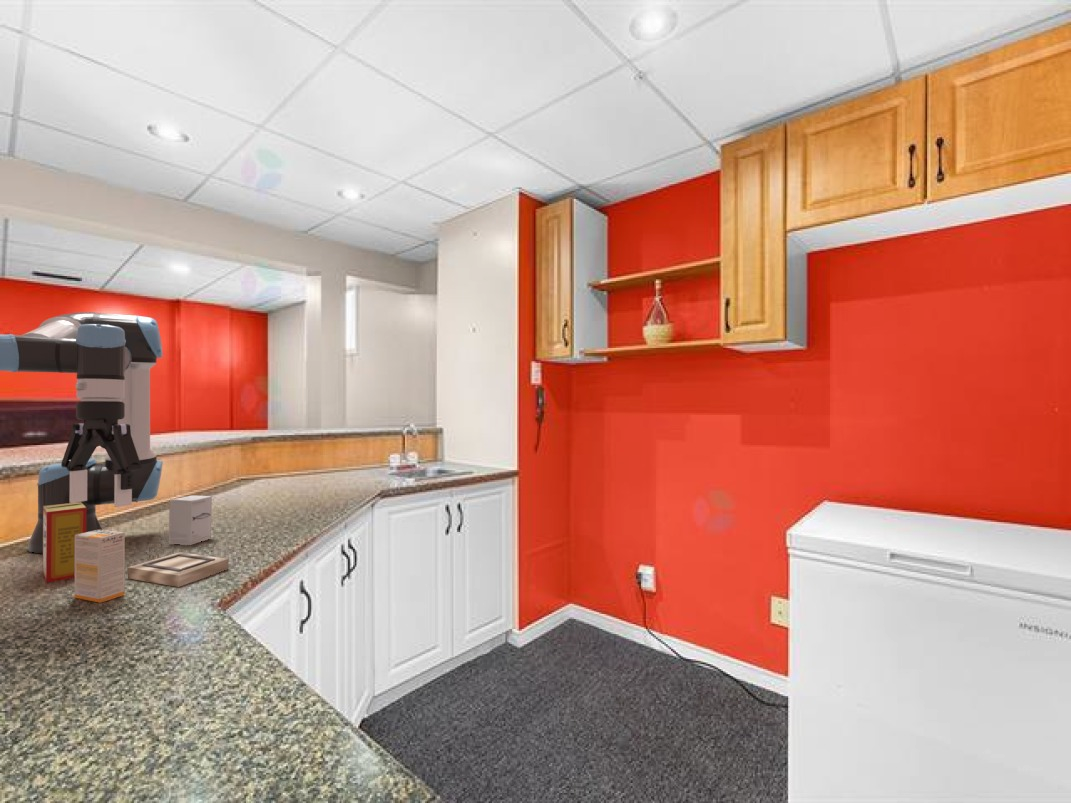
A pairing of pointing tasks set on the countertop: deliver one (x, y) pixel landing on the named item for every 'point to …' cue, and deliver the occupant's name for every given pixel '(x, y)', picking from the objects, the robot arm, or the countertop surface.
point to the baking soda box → (61, 539)
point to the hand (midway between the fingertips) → (100, 503)
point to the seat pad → (178, 569)
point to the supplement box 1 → (99, 565)
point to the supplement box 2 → (190, 519)
